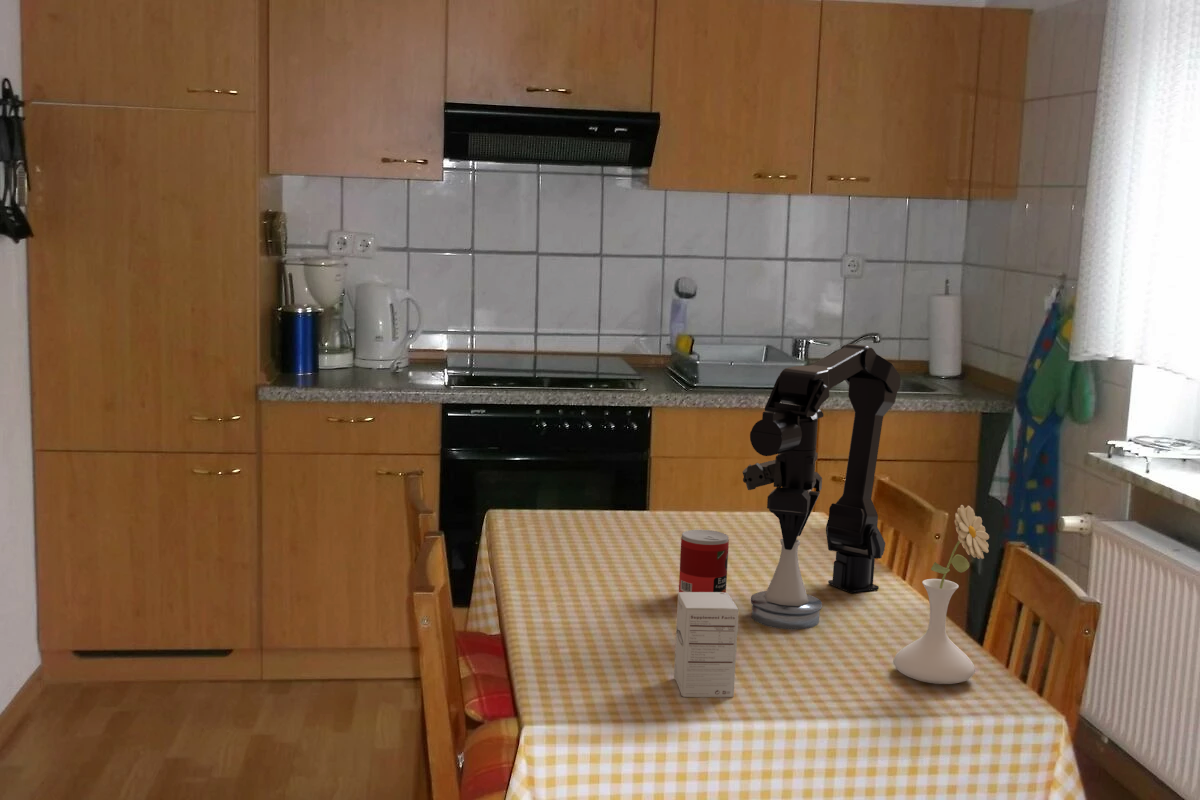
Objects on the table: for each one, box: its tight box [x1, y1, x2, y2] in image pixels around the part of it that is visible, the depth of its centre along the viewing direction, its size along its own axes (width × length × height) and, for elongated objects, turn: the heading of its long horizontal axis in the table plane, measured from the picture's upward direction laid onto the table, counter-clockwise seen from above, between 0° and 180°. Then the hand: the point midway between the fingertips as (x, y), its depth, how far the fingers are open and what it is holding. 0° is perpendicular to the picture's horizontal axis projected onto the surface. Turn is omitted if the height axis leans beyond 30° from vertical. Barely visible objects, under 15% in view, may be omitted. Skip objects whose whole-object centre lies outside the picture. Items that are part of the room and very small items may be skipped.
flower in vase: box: [892, 504, 990, 685], centre depth 184 cm, size 13×11×25 cm
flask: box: [765, 538, 809, 606], centre depth 209 cm, size 7×7×10 cm
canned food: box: [678, 529, 730, 593], centre depth 218 cm, size 8×8×11 cm
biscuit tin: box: [750, 590, 823, 630], centre depth 210 cm, size 11×11×4 cm
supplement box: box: [673, 591, 739, 698], centre depth 177 cm, size 7×7×13 cm
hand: (792, 542), depth 210 cm, fingers open, 9 cm apart
